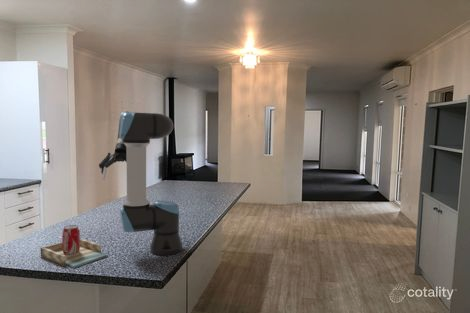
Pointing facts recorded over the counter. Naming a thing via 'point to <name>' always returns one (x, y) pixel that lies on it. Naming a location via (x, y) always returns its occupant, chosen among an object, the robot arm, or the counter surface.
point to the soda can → (71, 239)
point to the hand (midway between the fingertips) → (117, 178)
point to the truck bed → (83, 256)
